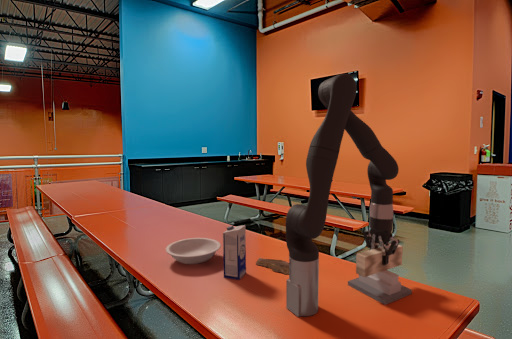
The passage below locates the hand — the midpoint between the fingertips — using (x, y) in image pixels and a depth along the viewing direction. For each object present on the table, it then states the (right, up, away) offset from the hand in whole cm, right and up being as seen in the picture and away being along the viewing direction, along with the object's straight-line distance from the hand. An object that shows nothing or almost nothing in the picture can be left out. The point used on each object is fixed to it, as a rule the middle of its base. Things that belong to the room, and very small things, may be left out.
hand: (379, 262), depth 110 cm
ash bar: (0, -2, 0) cm, 2 cm away
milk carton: (-52, -9, +13) cm, 55 cm away
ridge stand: (0, -10, +1) cm, 10 cm away
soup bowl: (-72, -8, +29) cm, 78 cm away
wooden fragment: (-33, -9, +21) cm, 40 cm away
